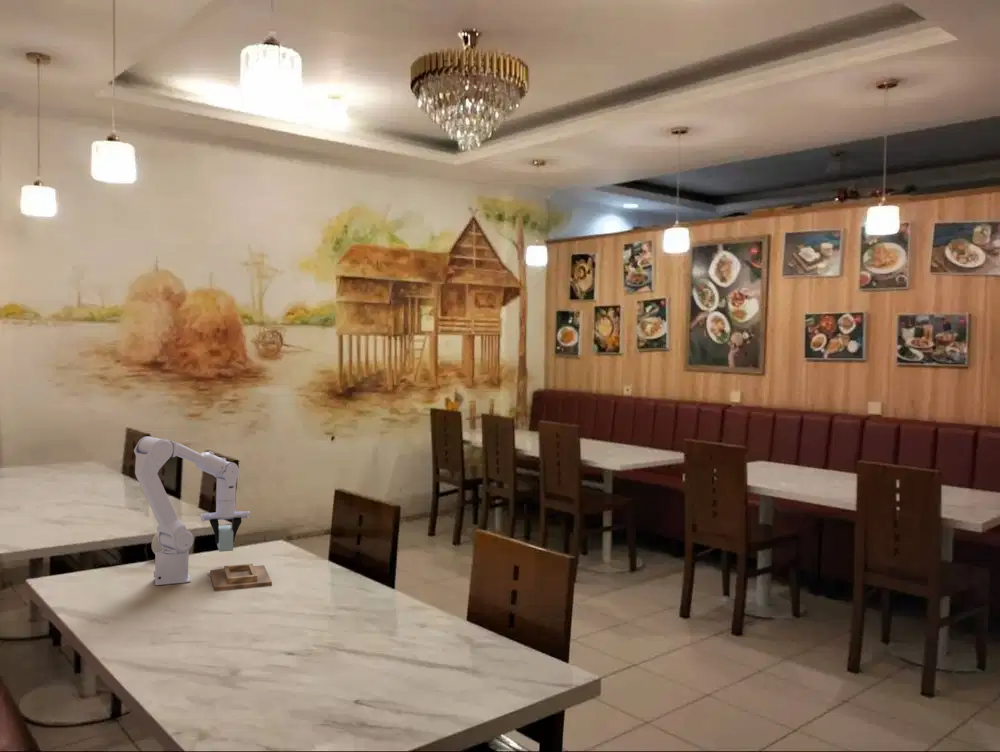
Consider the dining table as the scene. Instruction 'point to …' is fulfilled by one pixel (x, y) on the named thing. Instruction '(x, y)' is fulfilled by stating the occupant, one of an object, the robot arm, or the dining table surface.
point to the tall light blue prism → (225, 538)
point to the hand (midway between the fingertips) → (225, 542)
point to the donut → (156, 544)
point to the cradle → (239, 577)
